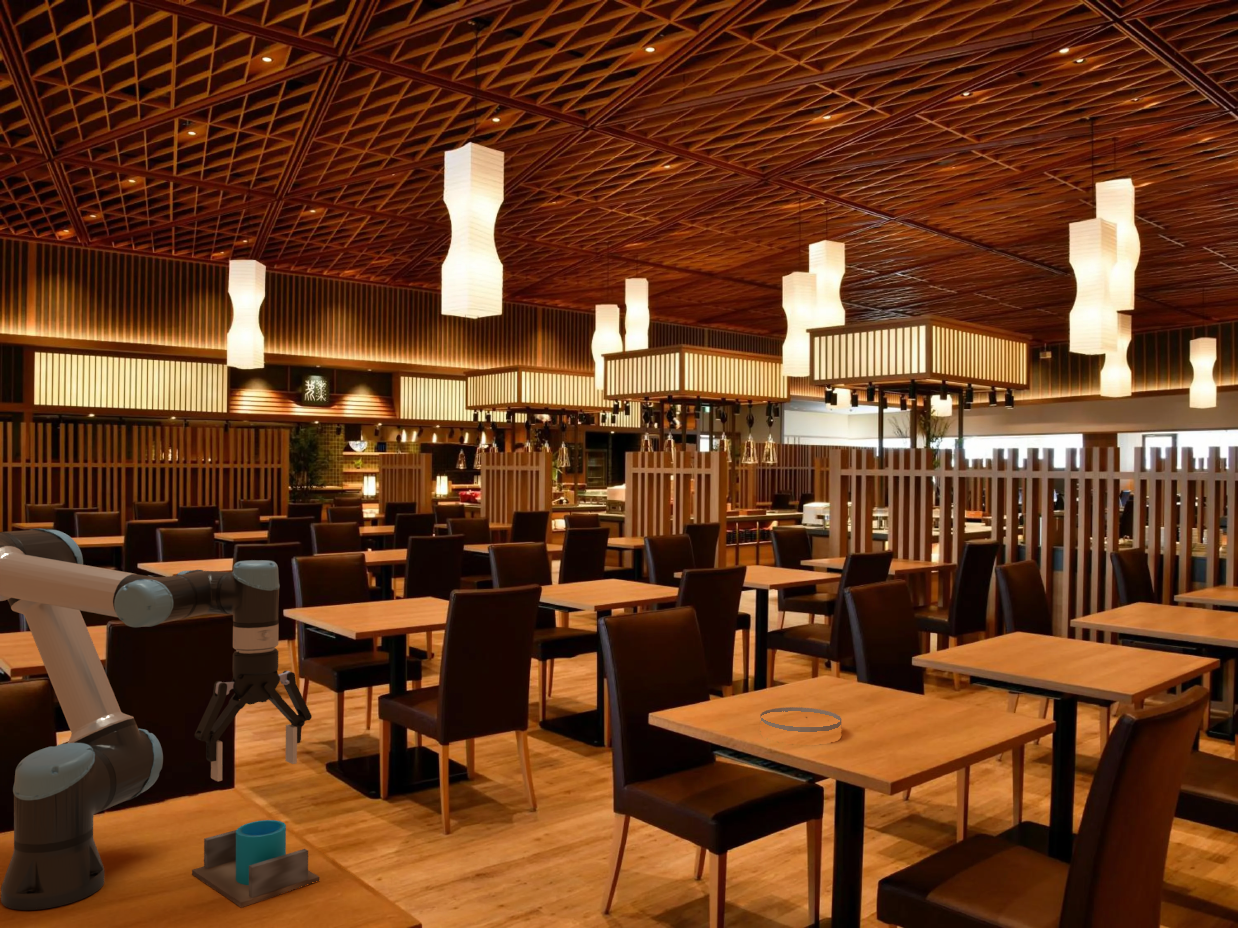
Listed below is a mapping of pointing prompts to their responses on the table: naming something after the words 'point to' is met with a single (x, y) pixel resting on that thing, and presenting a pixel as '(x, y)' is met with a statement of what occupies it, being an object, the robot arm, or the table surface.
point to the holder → (251, 872)
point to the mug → (258, 845)
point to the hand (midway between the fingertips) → (254, 770)
